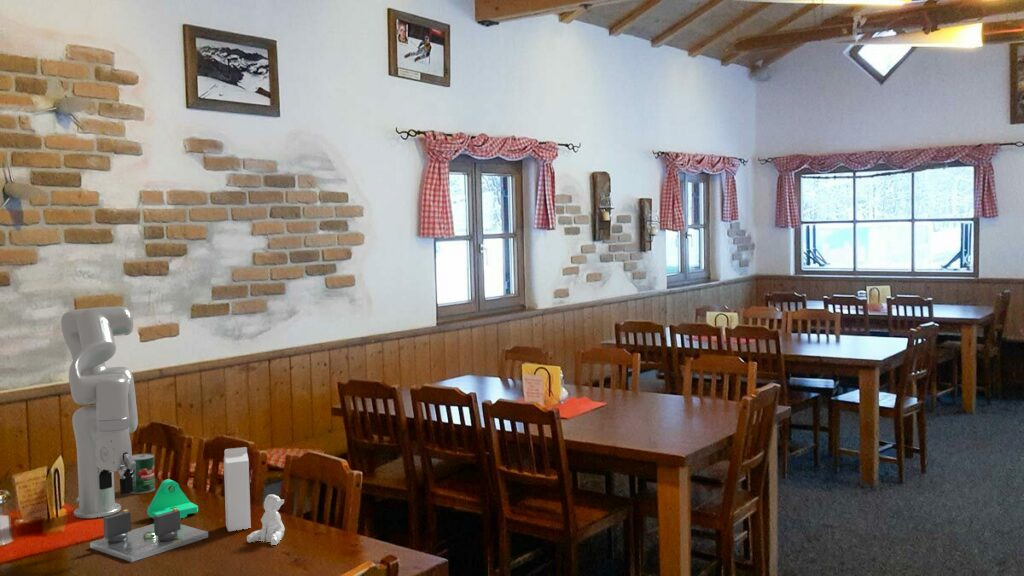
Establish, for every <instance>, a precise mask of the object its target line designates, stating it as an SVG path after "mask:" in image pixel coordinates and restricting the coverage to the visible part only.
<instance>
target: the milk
mask: <svg viewBox="0 0 1024 576" xmlns="http://www.w3.org/2000/svg"><path fill="white" fill-rule="evenodd" d="M223 452H224V456H223V477H224V479H223V480H224V501H225V503H224V504H225V505H224V507H225V526H226V529H227V532H233V531H234V532H235V531H236V530H237V531H243V530H242V529H244V530H249V529H248V528H252V526H251V523H252V522H251V521H252V520H251V519H252V518H251V496H250V493H251V492H250V469H249V468H250V461H249V455H248V447H246V446H245V447H234V448H226V449H225V450H224V451H223Z"/></svg>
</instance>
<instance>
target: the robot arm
mask: <svg viewBox="0 0 1024 576" xmlns="http://www.w3.org/2000/svg"><path fill="white" fill-rule="evenodd" d="M60 327H61V333H62V336H63V339H64V342H65V344H66V346H67V348H68V349H69V351H70V354H71V358H72V361H71V364H70V365H69V370H68V383H69V388H70V395H71V398H72V400H73V401H74V403H75V404H77V405H82V406H83V405H84V406H83V407H80V408H78V409H77V410H75V411H74V413H73V414H72V418H71V419H72V420H71V421H72V422H71V423H72V429H73V433H74V439H75V447H76V458H77V459H76V460H77V478H78V479H77V481H78V484H77V485H78V497H77V498H76V502H77V503H78V504H79V505H78V506H79V507H78V508H76V509H74V510H73V516H74V517H75V516H76V518H78V517H79V518H80V519H96V518H97V517H98V518H104V517H107V516H111V515H115V514H118V513H120V511H121V509H122V506H121V504H120V503H117V502H116V500H115V499H116V493H115V474H114V473H115V472H118V473H119V476H120V478H119V492H120V495H127V494H132V493H131V492H133V476H134V474H133V473H134V472H135V465H136V462H135V461H134V460H133V459H132V455H133V452H132V451H133V450H132V442H131V435H130V434H133V433H134V432H135V431H136V430H137V428H138V425H139V417H138V406H137V397H136V387H135V379H134V376H133V374H132V371H131V370H130V369H129V367H128V368H127V367H125V366H113V367H111V366H110V367H107V366H106V362H107V361H110V360H111V358H113V356H114V355H115V353H116V351H117V347H116V346H117V345H116V342H115V338H114V337H116V336H117V337H119V336H129V335H131V333H132V331H133V329H134V318H133V314H132V312H131V311H130V309H129V308H128V307H126V306H121V305H120V306H103V307H101V306H100V307H98V306H97V307H90V308H79V309H78V308H77V309H73V310H69V311H66V312H65V313H64V314H63V315H61V320H60ZM85 405H86V406H85ZM79 518H78V519H79ZM98 518H97V519H98Z"/></svg>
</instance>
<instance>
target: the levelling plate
mask: <svg viewBox="0 0 1024 576" xmlns="http://www.w3.org/2000/svg"><path fill="white" fill-rule="evenodd" d="M180 527H181V530H177V531H178V537H177V538H176V539H173V540H169V541H160V540H158V536H156V535H155V533H154V523H151V524H149V525H148V524H147V525H144V526H142V527H138V528H134V529H131V531H130V532H128V539H127V540H125V541H122V542H116V543H111V542H108V538H107V537H104V536H103V538H101V539H100V538H99V539H96V540H93V541H90V542H89V546H90V547H89V548H90V549H91V550H92V549H93V550H95V551H98V552H101V553H103V554H106V555H110V556H113V557H116V558H119V559H121V560H124V561H127V562H130V563H133V562H136V561H140V560H142V559H145V558H148V557H152V556H156V555H158V554H161V553H164V552H167V551H171V550H173V549H176V548H180V547H183V546H186V545H189V544H193V543H196V542H198V541H202V540H204V539H207V538H209V531H207V530H202V529H200V528H195V527H192V526H188V525H185V524H181V523H180Z"/></svg>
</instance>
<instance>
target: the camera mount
mask: <svg viewBox="0 0 1024 576" xmlns="http://www.w3.org/2000/svg"><path fill="white" fill-rule="evenodd" d="M174 508H178V510H179V511H180V520H182V519H181V518H183V519H186V518H185V517H187V518H188V515H190V514H195V513H198V512H199V505H197V504H195V503H193V502H191V501H190V500H189V498H188V497H187V495H186V494H185V493H184V492H183V491H182V489H181V488H180V485H179V483H178V482H176V481H174V480H172V479H165V480H163V481H162V482H161V483H160V484H159V487H158V489H157V490H156V492H155V495H154V497H153V499H152V500H151V502H150V503H149V506H148V507H147V511H146V512H147V513H146V514H147V516H149V517H150V518H152V519H154V516H155V515H159V514H162V513H166V512H170V511H173V509H174Z"/></svg>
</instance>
